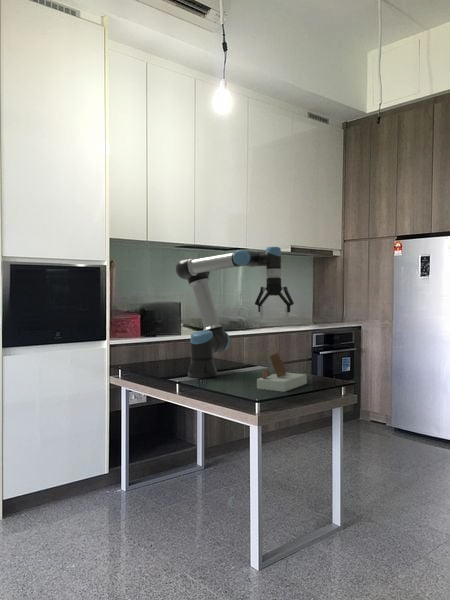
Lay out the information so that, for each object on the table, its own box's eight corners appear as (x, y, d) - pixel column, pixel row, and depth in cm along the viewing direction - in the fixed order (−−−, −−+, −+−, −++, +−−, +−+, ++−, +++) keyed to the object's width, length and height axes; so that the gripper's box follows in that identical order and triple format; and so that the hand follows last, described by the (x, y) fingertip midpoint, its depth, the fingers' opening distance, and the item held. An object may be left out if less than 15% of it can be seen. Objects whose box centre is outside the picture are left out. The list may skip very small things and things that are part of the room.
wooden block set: (279, 377, 241) (271, 357, 243) (294, 371, 237) (286, 351, 239) (263, 382, 225) (255, 360, 228) (279, 375, 222) (271, 354, 224)
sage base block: (256, 389, 226) (256, 379, 226) (280, 382, 244) (280, 372, 244) (284, 393, 218) (283, 381, 217) (306, 384, 235) (306, 374, 235)
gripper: (248, 277, 256) (248, 318, 256) (295, 276, 246) (295, 319, 246) (253, 277, 263) (253, 318, 263) (299, 276, 252) (299, 318, 253)
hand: (274, 318), depth 255 cm, fingers open, 13 cm apart
